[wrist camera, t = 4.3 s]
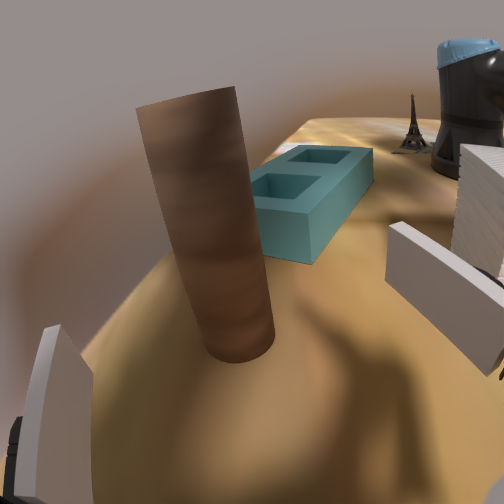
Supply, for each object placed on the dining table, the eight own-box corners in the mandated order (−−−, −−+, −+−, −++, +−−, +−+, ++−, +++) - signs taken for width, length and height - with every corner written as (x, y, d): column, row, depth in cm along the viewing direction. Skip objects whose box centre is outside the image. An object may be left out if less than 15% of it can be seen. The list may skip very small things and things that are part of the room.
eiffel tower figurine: (391, 157, 57) (387, 90, 50) (376, 145, 65) (372, 88, 59) (453, 155, 55) (453, 93, 48) (433, 144, 63) (431, 89, 57)
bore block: (302, 174, 51) (299, 145, 49) (373, 180, 45) (372, 148, 42) (209, 244, 35) (199, 202, 32) (311, 264, 28) (307, 213, 26)
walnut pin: (232, 306, 25) (184, 95, 17) (287, 323, 23) (253, 83, 15) (191, 347, 22) (116, 114, 14) (250, 373, 19) (185, 95, 11)
